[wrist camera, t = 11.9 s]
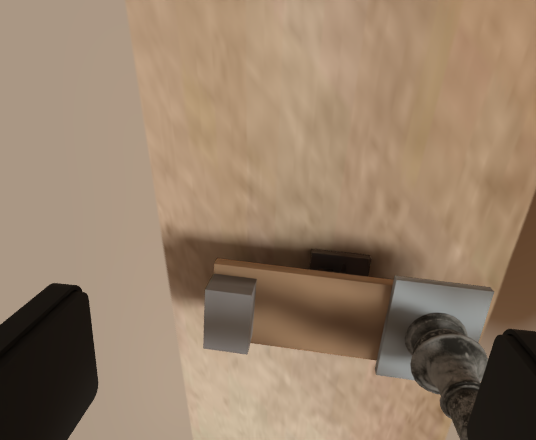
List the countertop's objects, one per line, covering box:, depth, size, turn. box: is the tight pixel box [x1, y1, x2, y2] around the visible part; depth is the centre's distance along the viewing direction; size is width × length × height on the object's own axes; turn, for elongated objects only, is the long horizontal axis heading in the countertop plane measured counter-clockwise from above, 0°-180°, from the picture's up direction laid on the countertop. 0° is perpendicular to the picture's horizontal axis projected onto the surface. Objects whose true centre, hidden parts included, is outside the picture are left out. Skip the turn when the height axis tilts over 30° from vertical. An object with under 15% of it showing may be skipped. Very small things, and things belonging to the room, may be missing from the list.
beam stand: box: [309, 249, 371, 277], centre depth 39 cm, size 8×22×5 cm, turn 85°
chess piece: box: [405, 313, 488, 440], centre depth 29 cm, size 6×6×12 cm
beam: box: [203, 258, 494, 380], centre depth 35 cm, size 10×24×4 cm, turn 85°
